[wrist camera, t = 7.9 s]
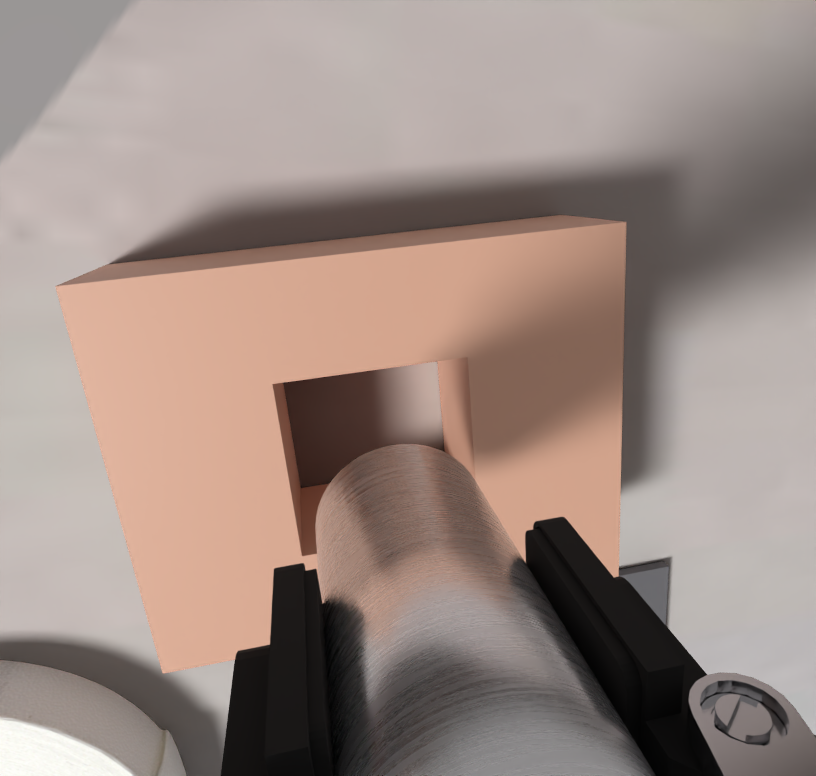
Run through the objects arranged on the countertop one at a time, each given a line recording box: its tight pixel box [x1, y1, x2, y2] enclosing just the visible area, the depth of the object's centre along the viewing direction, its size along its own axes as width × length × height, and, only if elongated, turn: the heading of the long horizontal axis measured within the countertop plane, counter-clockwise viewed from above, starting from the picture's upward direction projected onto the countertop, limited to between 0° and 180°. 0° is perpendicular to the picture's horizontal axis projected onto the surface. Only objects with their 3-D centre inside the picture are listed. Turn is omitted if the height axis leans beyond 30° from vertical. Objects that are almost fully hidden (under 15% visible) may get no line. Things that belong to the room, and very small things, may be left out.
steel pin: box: [315, 444, 656, 776], centre depth 9 cm, size 4×4×12 cm
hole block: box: [55, 215, 626, 674], centre depth 20 cm, size 15×12×4 cm
